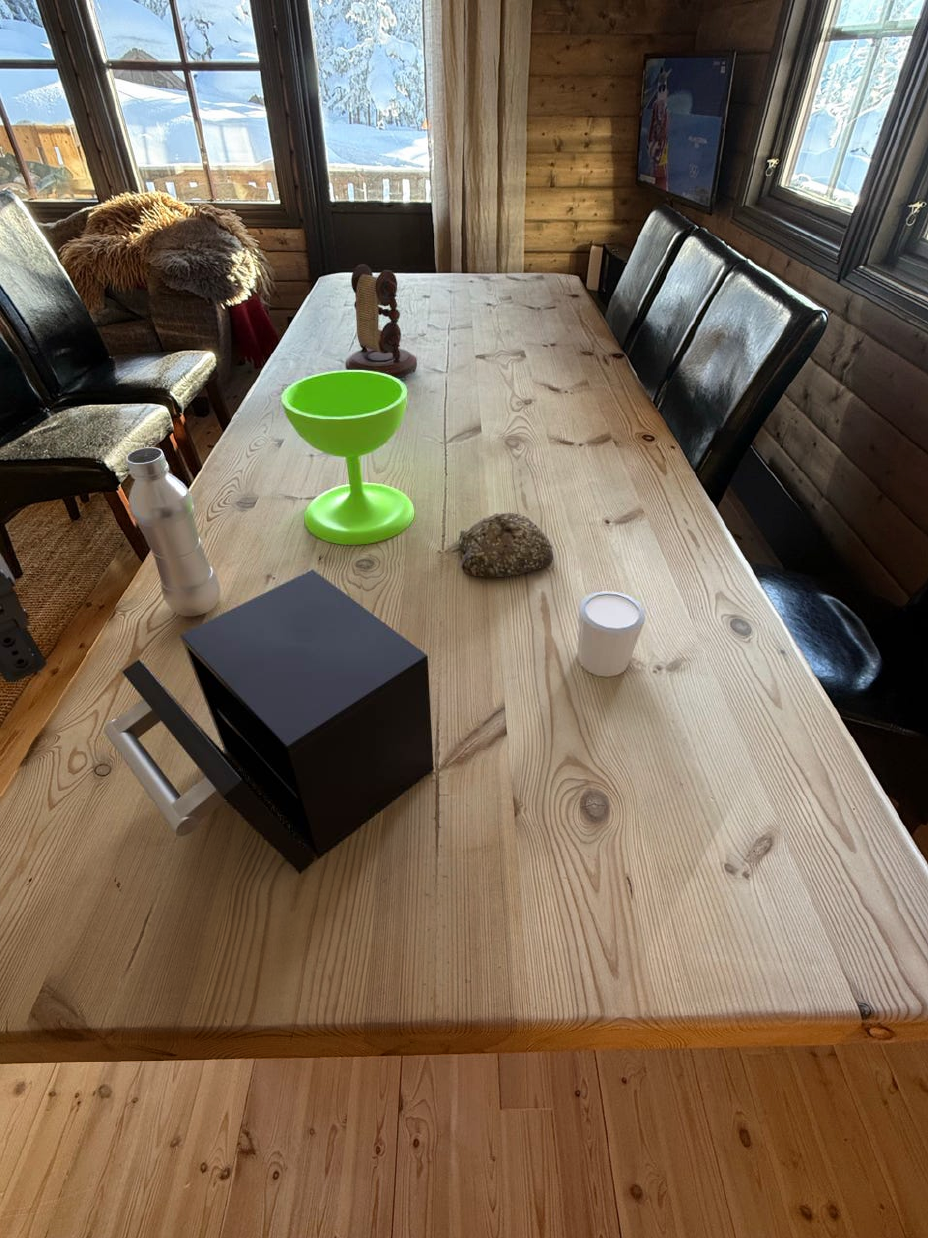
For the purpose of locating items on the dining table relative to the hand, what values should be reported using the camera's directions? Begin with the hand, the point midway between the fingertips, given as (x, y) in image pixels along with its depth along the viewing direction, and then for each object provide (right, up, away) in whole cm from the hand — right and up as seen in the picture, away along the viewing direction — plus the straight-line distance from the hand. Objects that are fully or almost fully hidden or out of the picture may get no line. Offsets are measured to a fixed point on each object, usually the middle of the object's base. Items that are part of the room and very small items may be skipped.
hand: (24, 669), depth 38 cm
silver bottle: (-7, +4, +42) cm, 43 cm away
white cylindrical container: (+41, -2, +35) cm, 54 cm away
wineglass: (+10, +18, +58) cm, 62 cm away
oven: (+12, -11, +25) cm, 30 cm away
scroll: (+8, +54, +100) cm, 114 cm away
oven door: (+6, -15, +20) cm, 26 cm away
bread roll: (+30, +12, +51) cm, 60 cm away
